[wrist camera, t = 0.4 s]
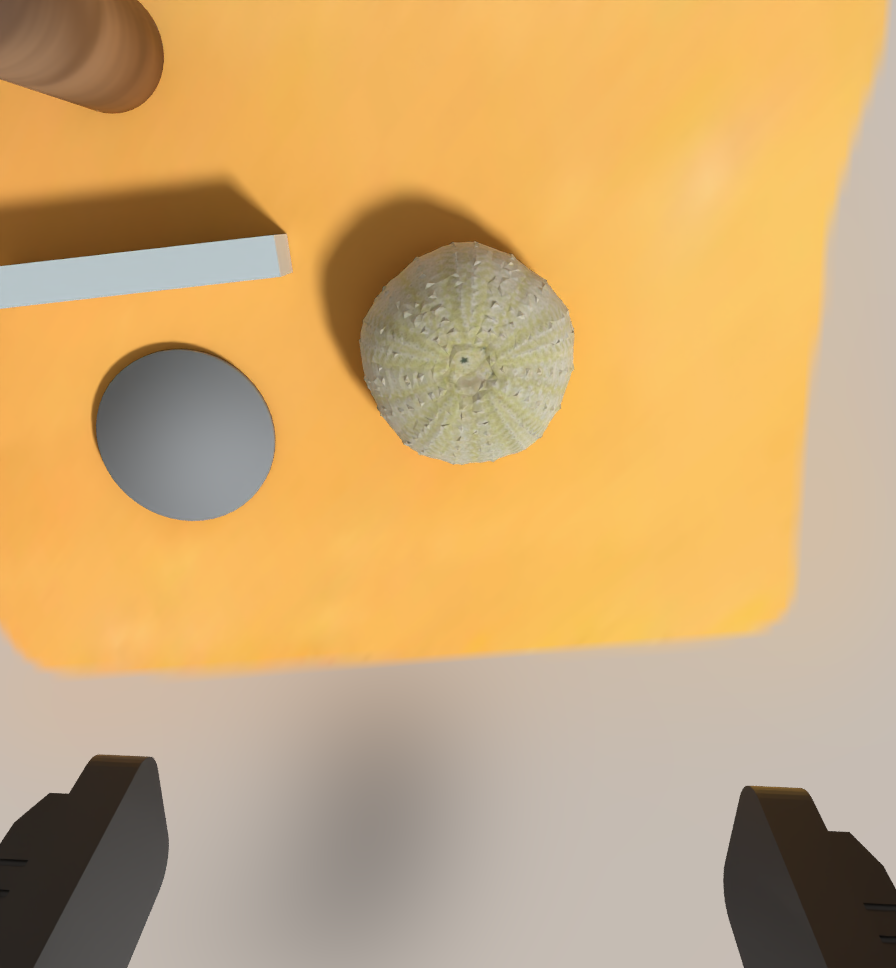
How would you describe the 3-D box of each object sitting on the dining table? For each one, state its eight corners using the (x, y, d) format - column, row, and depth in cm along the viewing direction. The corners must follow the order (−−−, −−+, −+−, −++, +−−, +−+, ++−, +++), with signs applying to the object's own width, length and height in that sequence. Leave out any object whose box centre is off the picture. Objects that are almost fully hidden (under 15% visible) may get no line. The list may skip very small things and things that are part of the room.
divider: (9, 265, 35) (-28, 269, 32) (286, 233, 35) (273, 234, 32) (20, 303, 36) (-16, 310, 33) (293, 272, 35) (280, 276, 32)
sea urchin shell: (375, 489, 37) (347, 389, 29) (371, 346, 40) (345, 227, 33) (579, 472, 36) (600, 369, 29) (556, 331, 40) (570, 208, 33)
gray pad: (80, 359, 36) (77, 361, 36) (258, 339, 36) (256, 340, 36) (122, 526, 39) (118, 529, 38) (288, 508, 39) (287, 511, 38)
